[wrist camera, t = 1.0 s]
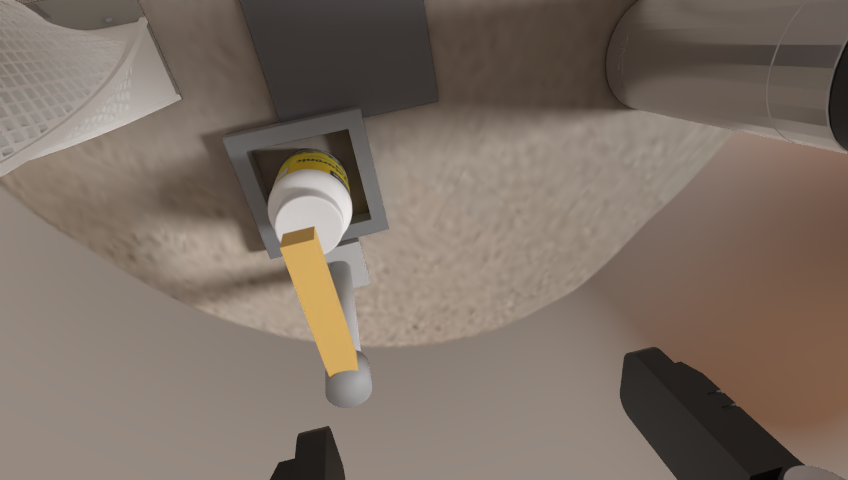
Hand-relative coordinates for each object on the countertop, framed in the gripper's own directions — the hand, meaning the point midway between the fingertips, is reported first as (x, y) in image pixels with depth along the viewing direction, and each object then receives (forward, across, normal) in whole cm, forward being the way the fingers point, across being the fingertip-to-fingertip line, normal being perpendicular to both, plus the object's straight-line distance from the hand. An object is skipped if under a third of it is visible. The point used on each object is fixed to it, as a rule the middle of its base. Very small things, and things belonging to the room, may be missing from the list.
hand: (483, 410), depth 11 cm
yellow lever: (+13, +5, +4) cm, 14 cm away
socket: (+26, +6, +3) cm, 26 cm away
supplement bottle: (+26, +6, 0) cm, 26 cm away
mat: (+26, +1, -10) cm, 27 cm away
